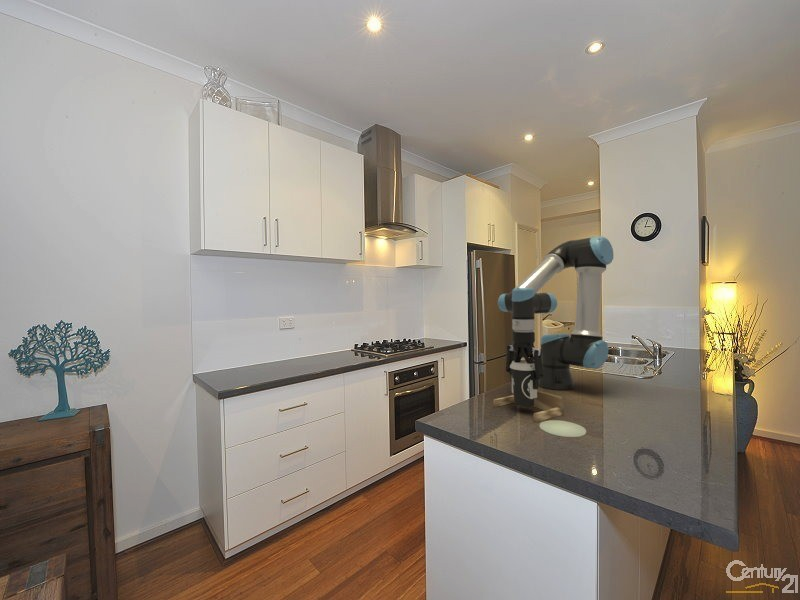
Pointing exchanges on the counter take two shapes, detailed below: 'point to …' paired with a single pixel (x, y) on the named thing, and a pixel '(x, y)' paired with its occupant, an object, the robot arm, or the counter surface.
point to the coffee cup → (522, 382)
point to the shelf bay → (539, 405)
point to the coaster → (562, 428)
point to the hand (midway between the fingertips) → (524, 395)
